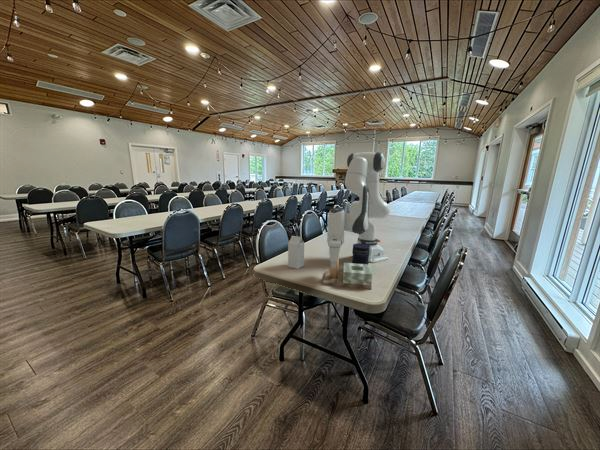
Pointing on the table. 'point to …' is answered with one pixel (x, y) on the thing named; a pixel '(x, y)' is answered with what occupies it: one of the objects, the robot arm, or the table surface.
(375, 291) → the table surface
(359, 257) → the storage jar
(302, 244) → the milk carton
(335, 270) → the peg
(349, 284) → the socket board
